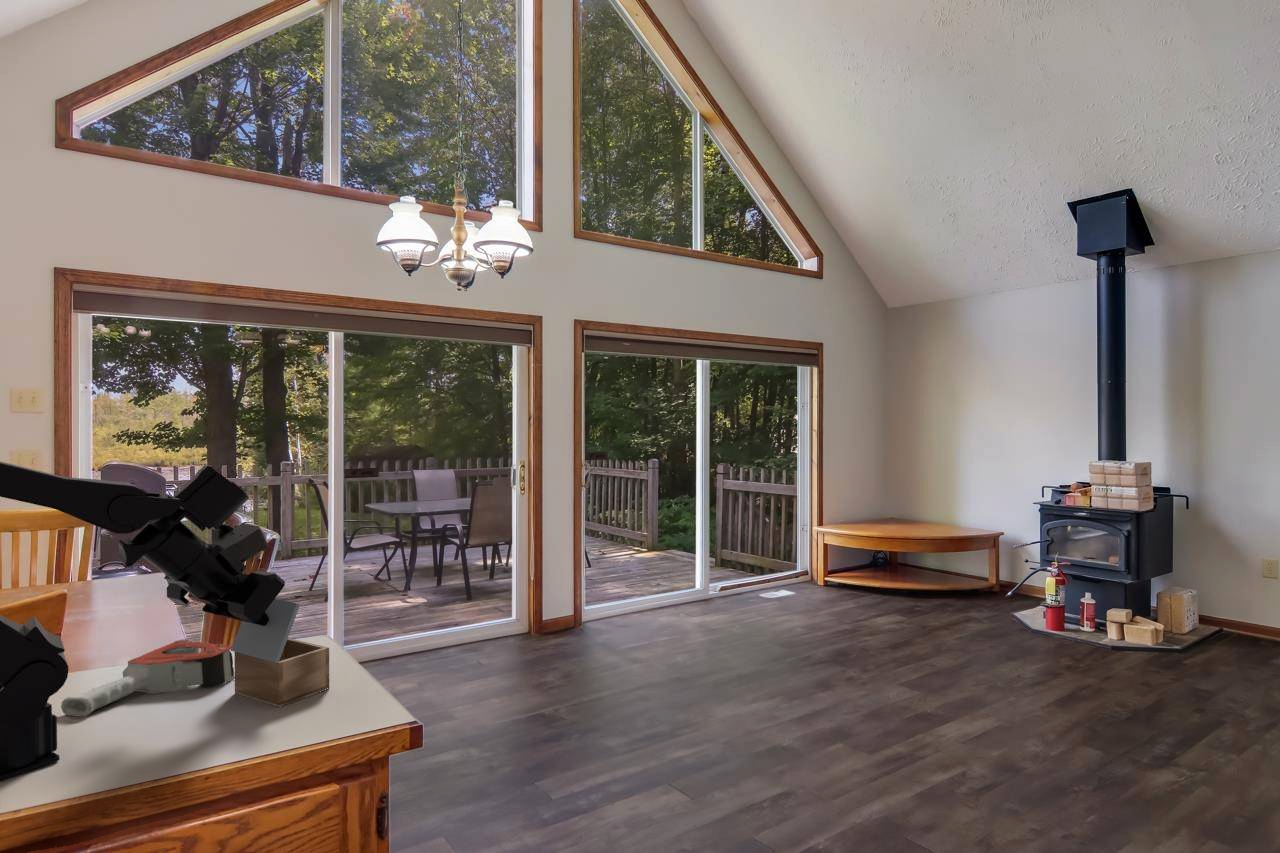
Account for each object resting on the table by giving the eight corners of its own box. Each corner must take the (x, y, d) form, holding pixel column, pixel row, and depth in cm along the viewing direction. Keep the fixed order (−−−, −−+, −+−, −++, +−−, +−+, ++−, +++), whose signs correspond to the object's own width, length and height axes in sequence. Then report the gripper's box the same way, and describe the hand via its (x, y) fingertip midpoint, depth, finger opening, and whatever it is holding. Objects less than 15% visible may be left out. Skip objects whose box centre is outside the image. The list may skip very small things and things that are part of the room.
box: (279, 707, 104) (278, 663, 104) (234, 693, 110) (234, 651, 109) (329, 688, 111) (329, 647, 111) (285, 676, 116) (285, 637, 116)
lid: (278, 663, 104) (274, 662, 104) (234, 651, 109) (230, 650, 109) (300, 604, 107) (296, 603, 107) (256, 595, 112) (252, 594, 112)
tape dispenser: (59, 734, 100) (233, 701, 108) (54, 695, 99) (230, 665, 108) (90, 683, 116) (240, 658, 124) (87, 649, 115) (237, 626, 124)
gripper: (270, 512, 98) (344, 582, 108) (188, 502, 108) (262, 567, 117) (209, 586, 92) (294, 653, 101) (127, 569, 101) (212, 632, 111)
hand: (265, 622), depth 108 cm, fingers closed, pressing on lid
